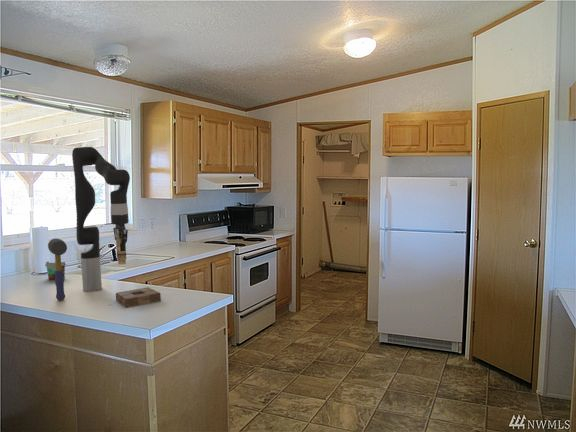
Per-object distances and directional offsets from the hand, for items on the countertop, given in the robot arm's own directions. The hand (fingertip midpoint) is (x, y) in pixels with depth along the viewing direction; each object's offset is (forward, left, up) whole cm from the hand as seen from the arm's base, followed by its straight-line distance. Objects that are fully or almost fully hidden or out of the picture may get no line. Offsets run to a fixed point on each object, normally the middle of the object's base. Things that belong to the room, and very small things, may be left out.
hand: (121, 250), depth 217 cm
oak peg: (0, 0, -6) cm, 6 cm away
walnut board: (0, +7, -25) cm, 26 cm away
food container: (-82, -13, -25) cm, 87 cm away
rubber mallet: (-28, -21, -25) cm, 43 cm away
